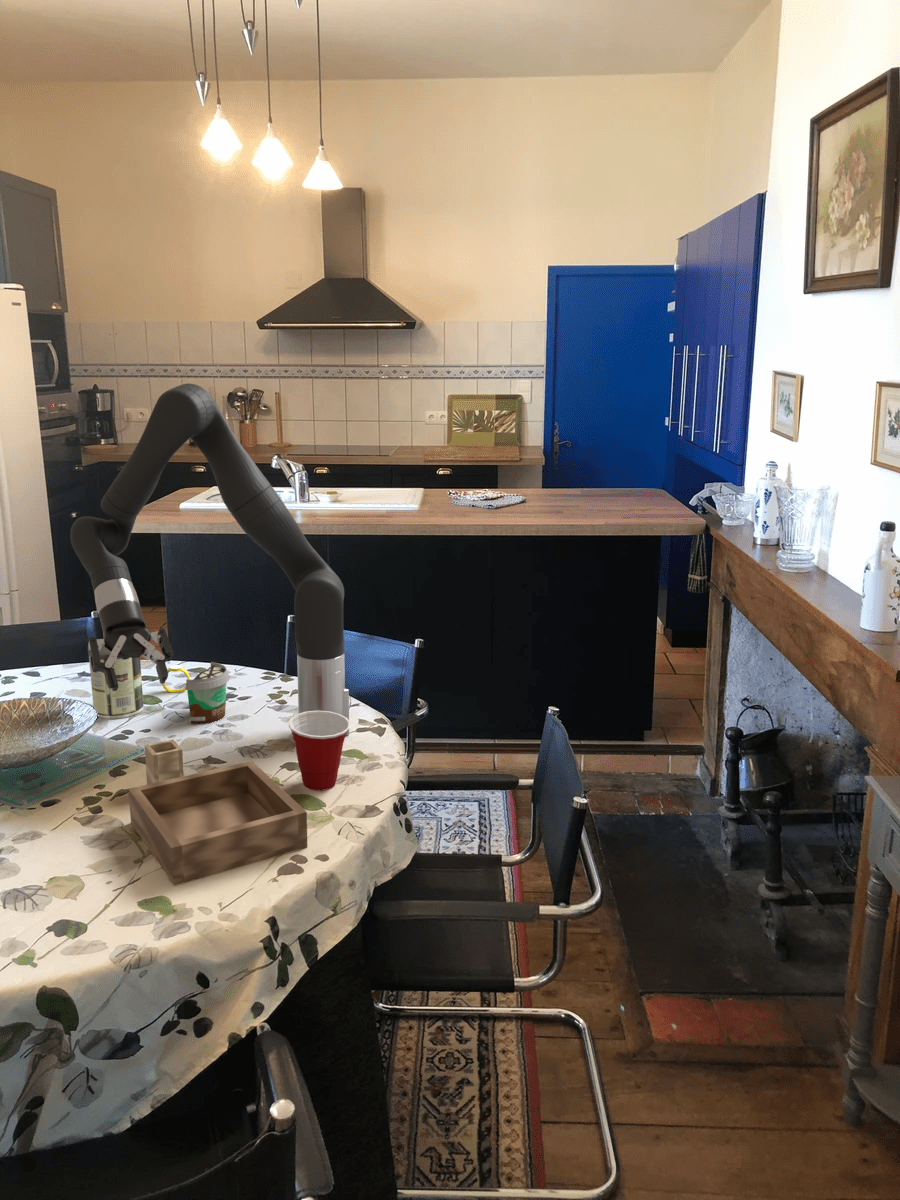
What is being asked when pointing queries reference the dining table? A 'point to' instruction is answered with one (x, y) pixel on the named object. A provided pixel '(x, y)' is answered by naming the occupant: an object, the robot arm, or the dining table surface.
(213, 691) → the food container
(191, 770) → the dining table surface
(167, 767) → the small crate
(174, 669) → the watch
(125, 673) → the coffee can
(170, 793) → the crate
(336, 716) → the plastic cup
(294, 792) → the dining table surface
